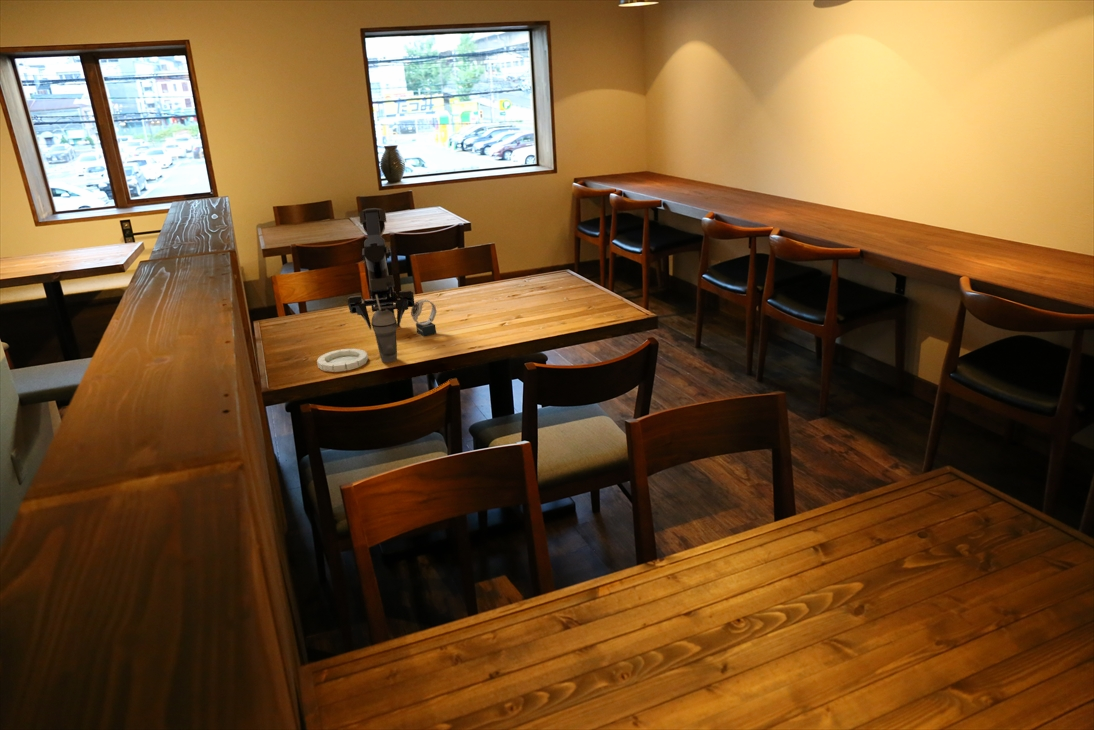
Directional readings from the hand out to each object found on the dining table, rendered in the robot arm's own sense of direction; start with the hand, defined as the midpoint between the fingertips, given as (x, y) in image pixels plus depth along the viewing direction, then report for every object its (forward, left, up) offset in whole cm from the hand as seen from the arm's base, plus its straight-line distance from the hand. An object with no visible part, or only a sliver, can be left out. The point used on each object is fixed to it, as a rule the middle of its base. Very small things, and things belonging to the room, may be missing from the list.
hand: (384, 327), depth 212 cm
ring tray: (-9, -10, -11) cm, 18 cm away
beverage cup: (-1, +1, -11) cm, 11 cm away
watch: (-15, +21, -11) cm, 28 cm away
